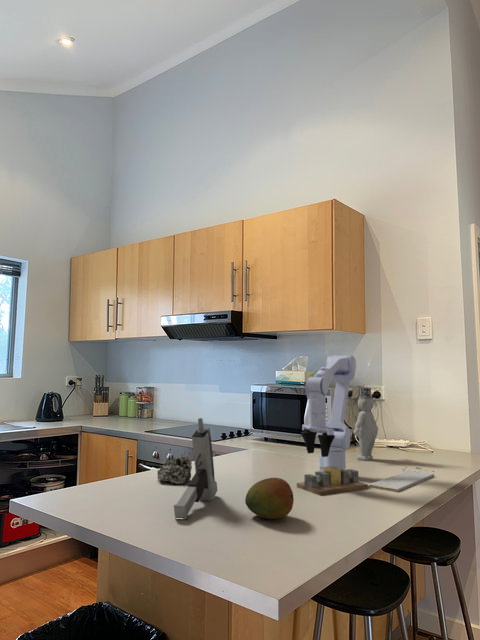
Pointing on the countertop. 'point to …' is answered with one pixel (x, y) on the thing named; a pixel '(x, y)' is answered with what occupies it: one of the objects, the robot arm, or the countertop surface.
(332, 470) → the block
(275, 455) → the countertop surface
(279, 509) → the fruit
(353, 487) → the shaft base
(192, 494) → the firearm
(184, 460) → the rock
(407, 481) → the baseboard molding
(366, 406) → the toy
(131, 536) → the countertop surface
